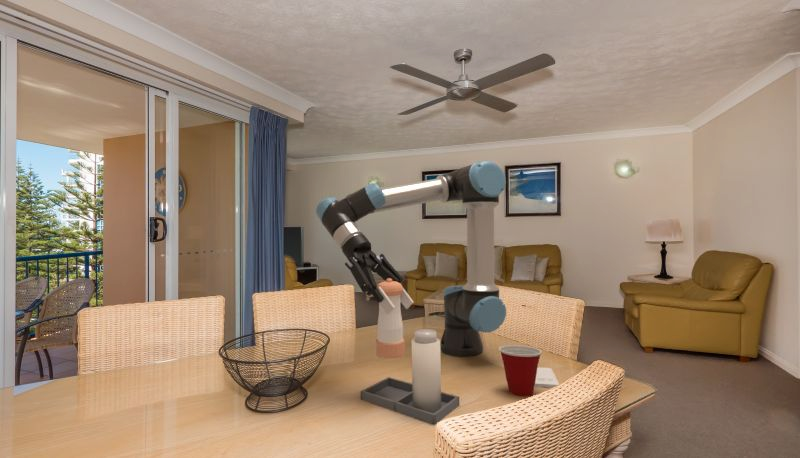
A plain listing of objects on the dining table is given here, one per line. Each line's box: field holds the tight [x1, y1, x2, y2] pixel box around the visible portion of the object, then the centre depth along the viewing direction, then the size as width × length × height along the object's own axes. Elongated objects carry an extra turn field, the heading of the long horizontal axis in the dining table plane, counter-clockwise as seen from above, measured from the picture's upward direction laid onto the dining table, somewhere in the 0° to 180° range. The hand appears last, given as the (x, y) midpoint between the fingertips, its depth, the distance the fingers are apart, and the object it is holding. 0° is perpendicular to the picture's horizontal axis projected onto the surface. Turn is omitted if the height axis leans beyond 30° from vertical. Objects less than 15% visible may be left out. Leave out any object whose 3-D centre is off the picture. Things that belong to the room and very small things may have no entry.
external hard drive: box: [534, 366, 560, 389], centre depth 109 cm, size 2×8×12 cm
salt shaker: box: [411, 328, 442, 414], centre depth 90 cm, size 7×7×18 cm
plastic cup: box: [498, 344, 543, 397], centre depth 99 cm, size 11×11×12 cm
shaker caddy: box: [360, 376, 460, 426], centre depth 93 cm, size 11×22×3 cm, turn 53°
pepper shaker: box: [375, 278, 406, 359], centre depth 97 cm, size 7×7×19 cm
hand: (400, 308), depth 95 cm, fingers closed on pepper shaker, 7 cm apart
